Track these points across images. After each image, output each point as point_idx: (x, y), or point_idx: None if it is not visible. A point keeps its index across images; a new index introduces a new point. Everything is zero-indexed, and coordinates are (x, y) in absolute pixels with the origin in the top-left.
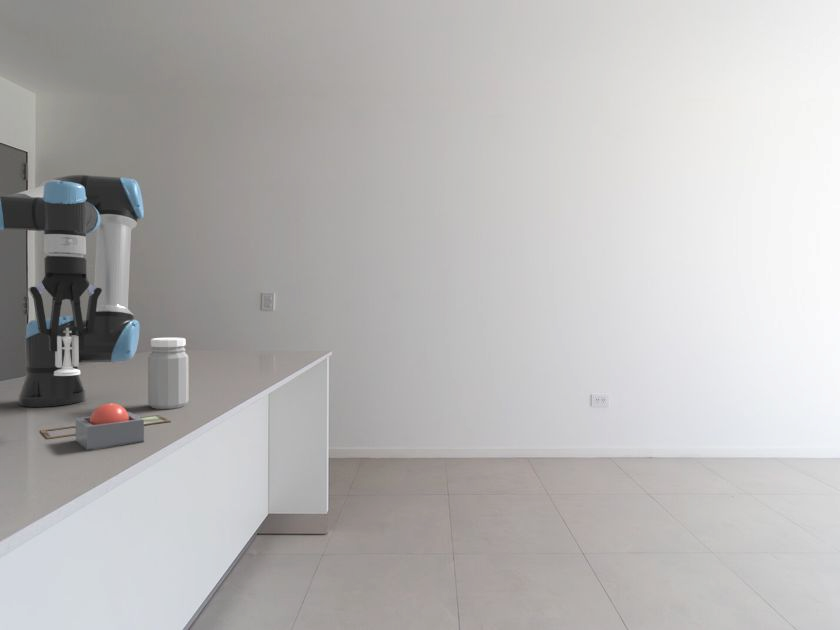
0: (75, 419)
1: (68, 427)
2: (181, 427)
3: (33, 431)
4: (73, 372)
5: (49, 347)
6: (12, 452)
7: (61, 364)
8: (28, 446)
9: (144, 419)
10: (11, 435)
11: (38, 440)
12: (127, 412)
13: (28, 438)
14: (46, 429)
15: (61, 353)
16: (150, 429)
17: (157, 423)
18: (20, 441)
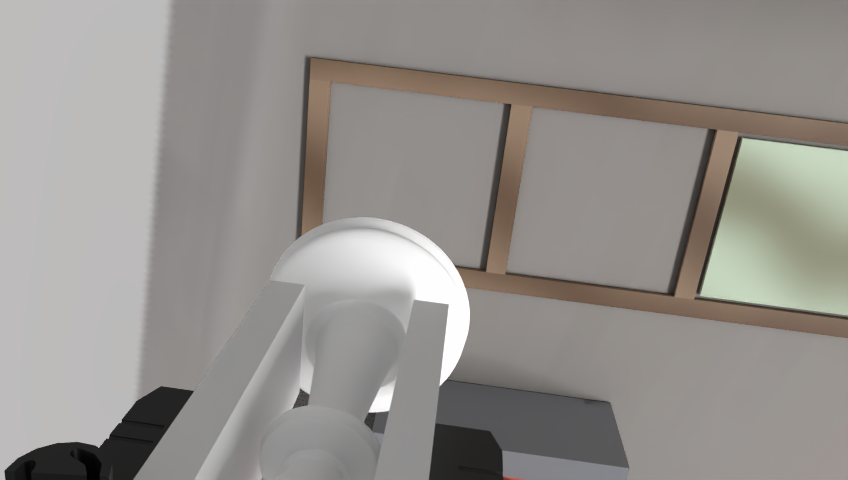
0: (372, 430)
1: (441, 95)
2: (827, 473)
3: (285, 32)
4: (385, 410)
5: (129, 424)
6: (154, 382)
7: (289, 406)
8: (215, 333)
9: (820, 200)
10: (183, 51)
11: (266, 256)
12: (613, 477)
13: (238, 183)
14: (340, 62)
15: (258, 477)
16: (710, 410)
17: (807, 330)
18: (201, 218)
